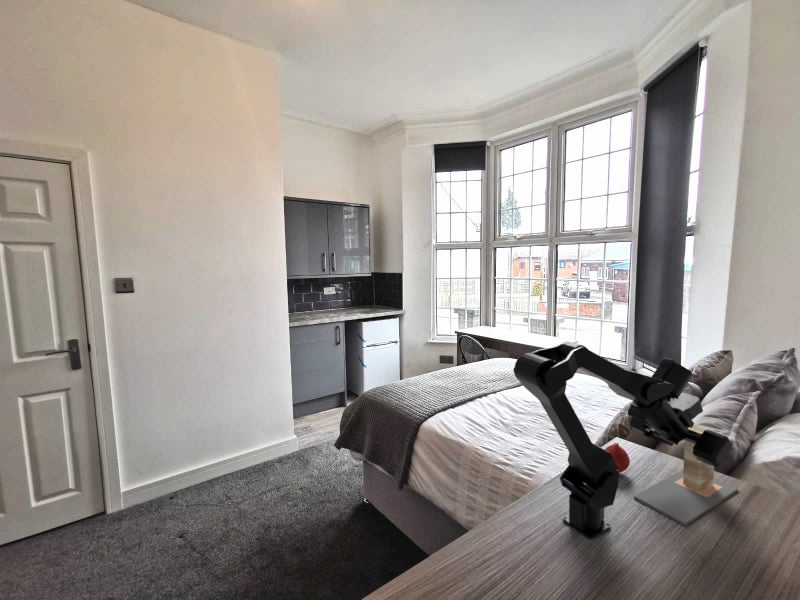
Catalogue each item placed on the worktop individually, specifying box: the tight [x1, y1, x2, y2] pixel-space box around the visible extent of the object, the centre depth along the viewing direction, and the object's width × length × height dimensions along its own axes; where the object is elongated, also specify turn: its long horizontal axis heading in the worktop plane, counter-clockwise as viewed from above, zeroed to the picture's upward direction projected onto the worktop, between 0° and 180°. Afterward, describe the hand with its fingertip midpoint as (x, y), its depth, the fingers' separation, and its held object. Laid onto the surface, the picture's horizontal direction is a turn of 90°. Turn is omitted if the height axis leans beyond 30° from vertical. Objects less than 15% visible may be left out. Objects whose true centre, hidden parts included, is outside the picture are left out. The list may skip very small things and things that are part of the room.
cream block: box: [683, 425, 717, 491], centre depth 84 cm, size 5×3×13 cm, turn 109°
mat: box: [633, 468, 739, 526], centre depth 82 cm, size 22×10×1 cm, turn 117°
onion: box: [604, 442, 631, 474], centre depth 91 cm, size 6×6×8 cm
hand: (693, 453), depth 83 cm, fingers open, 9 cm apart
